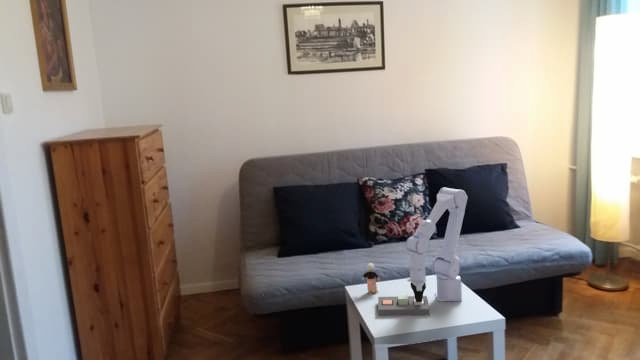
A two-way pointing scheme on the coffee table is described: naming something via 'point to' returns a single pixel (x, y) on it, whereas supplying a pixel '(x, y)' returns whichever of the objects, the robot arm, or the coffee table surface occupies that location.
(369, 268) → the grandmother figurine
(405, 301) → the sage key
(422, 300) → the ivory key
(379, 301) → the grey slotted board
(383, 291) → the coffee table surface
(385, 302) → the terracotta key
